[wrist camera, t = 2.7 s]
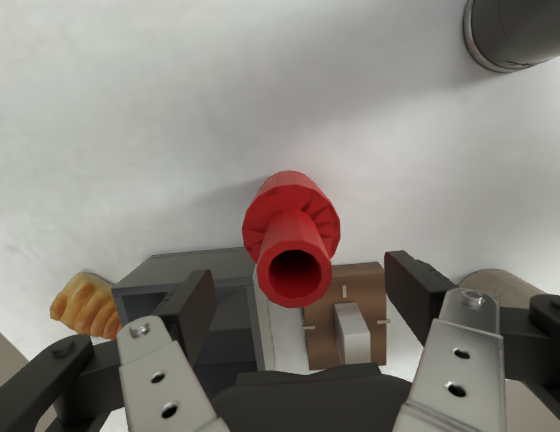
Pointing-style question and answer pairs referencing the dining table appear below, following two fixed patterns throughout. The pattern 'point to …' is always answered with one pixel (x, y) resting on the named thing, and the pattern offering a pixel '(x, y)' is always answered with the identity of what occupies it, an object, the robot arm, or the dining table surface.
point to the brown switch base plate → (346, 289)
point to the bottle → (292, 239)
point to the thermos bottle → (502, 288)
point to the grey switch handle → (351, 334)
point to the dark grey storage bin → (227, 321)
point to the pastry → (87, 307)
